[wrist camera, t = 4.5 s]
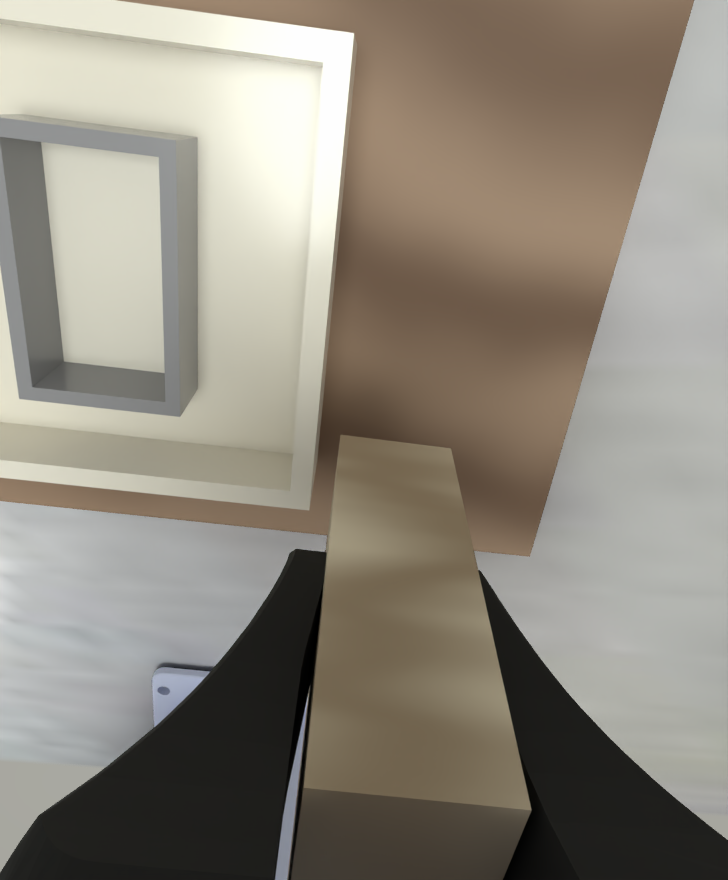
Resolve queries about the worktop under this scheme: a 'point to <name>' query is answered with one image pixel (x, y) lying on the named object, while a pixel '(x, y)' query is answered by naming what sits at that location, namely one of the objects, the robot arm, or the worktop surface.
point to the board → (464, 239)
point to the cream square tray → (168, 247)
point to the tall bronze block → (404, 687)
